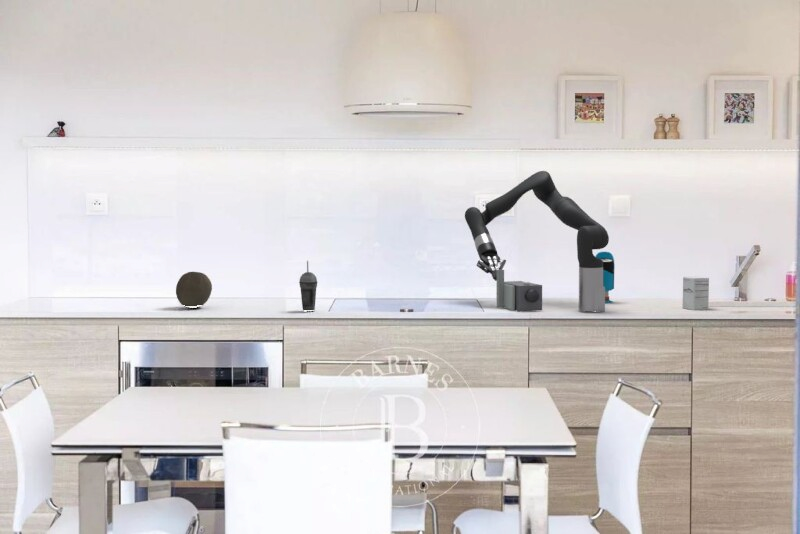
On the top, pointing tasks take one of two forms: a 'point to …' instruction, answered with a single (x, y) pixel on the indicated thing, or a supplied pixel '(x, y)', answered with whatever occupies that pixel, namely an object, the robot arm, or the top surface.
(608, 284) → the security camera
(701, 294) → the supplement box
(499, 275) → the side door
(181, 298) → the dark brown ball
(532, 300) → the block
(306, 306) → the beverage cup
